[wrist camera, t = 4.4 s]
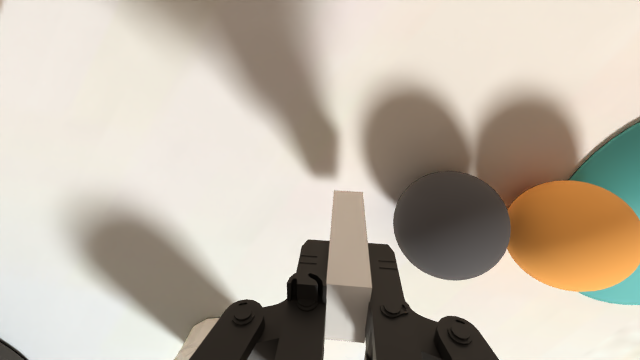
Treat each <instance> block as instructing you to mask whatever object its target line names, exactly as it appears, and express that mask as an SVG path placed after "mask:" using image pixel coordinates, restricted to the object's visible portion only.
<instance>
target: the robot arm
mask: <svg viewBox="0 0 640 360" xmlns="http://www.w3.org/2000/svg"><path fill="white" fill-rule="evenodd" d="M324 339H328V340H338V341H349V342H360V343H364V342H365V340H366V352H365V359H364V360H499V359H498V358H497V356H496V355H495V353H494V352H493V351H492V349H491V348H490V346H489V345H488V343H487V342H486V341H485V339H484V338H483V336H482V335H481V334H480V332H479V331H478V330H477V329H476V328H475V327H474V325H473V324H471V323H469V322H468V321H466V320H465V319H462V318H459V317H456V316H446V317H444V318H441V320H440V321H439V322H436V321H433V320H430V319H427V318H425V317H422V316H420V315H418V314H417V313H415V312H414V311H413V310H412V309H411V308H410V306H409V305H408V304H407V303H406V302H405V299H404V296H403V291H402V286H401V282H400V277H399V272H398V268H397V263H396V258H395V254H394V252H393V250H392V249H391V248H390V247H389V245H387V244H373V243H368V241H367V231H366V221H365V210H364V200H363V192H351V191H335V190H334V197H333V209H332V221H331V233H330V241H321V240H307V241H306V242H305V244H304V245H303V246H302V248H301V253H300V258H299V263H298V267H297V272H296V273H295V274H293V275H292V276H291V277H290V278H289V280H288V282H287V299H286V300H285V301H283V302H281V303H279V304H276V305H273V306H268V307H263V308H262V306H261V305H260V303H258V302H256V301H254V300H247V299H246V300H241V301H237V302H235V303H233V304H232V305H230V306H229V307H228V308H227V309H226V310H225V312H224V313H223V314H222V316H221V317H220V318H219V320H218V321H217V322H216V324H215V325H214V326H213V328H212V329H211V330H210V332H209V333H208V334H207V336H206V337H205V339H204V340H203V341H202V343H201V344H200V345H199V347H198V348H197V349H196V351H195V352H194V353H193V355H192V356H191V357H190V359H189V360H323V356H324ZM0 360H24V359H23V358H21V357H20V356H19V355H18V354H16V353H15V352H14V351H12V350H11V349H10V348H8V347H7V346H5V345H4V344H2V343H0Z"/></svg>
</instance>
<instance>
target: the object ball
mask: <svg viewBox="0 0 640 360" xmlns="http://www.w3.org/2000/svg"><path fill="white" fill-rule="evenodd" d="M508 214H509V218H510V224H511V233H510V240H509V244H508V247H507V249H508V251H509V253H510V255H511V256H512V258H513V259H514V261H515V262H516V263H517V264H518V265H519V266H520V267H521V268H522V269H523V270H524V271H525V272H526V273H527V274H529V275H530V276H532V277H533V278H535V279H536V280H538V281H540V282H542V283H544V284H547V285H549V286H552V287H555V288H559V289H563V290H568V291H577V292H586V291H597V290H602V289H606V288H609V287H611V286H614V285H616V284H618V283H620V282H622V281H623V280H625V279H626V278H627V277H629V276H630V275H631V274H632V273H633V272H634V271H635V270H636V268H637V267H638V266H639V264H640V220H639V218H638V216H637V215H636V214H635V212H634V211H633V210H632V208H631V207H630V206H629V205H628V204H627V203H626V202H624V201H623V200H622V199H621V198H619V197H618V196H617V195H615V194H613V193H612V192H610V191H608V190H606V189H604V188H602V187H599V186H596V185H593V184H590V183H586V182H580V181H572V180H564V181H552V182H547V183H543V184H540V185H537V186H535V187H532V188H530V189H529V190H527V191H525V192H524V193H522V194H521V195H520V196H519V197H517V198H516V199H515V200H514V202H513V203H512V204H511V205H510V207H509V209H508Z"/></svg>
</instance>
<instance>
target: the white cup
mask: <svg viewBox="0 0 640 360" xmlns="http://www.w3.org/2000/svg"><path fill="white" fill-rule="evenodd" d="M218 320H219V318H210V319H206V320H204V321H202V322H200V323H198V324H197V325H195V326H194V327H193V328H192V330H191V332H190V333H189V335H188V337H187V339H186V341H185V342H184V344H183V346H182V348H181V349H180V351H179V352H178V354H177V356H176V357H175V359H174V360H189V359H190V357H191V356H192V355H193V353H194V352H195V351H196V349H197V348H198V347H199V345H200V344H201V343H202V341H203V340H204V339H205V337H206V336H207V334H208V333H209V332H210V330H211V329H212V328H213V326H214V325H215V324H216V322H217V321H218Z"/></svg>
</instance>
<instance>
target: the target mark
mask: <svg viewBox="0 0 640 360" xmlns="http://www.w3.org/2000/svg"><path fill="white" fill-rule="evenodd" d="M570 180H572V181H580V182H586V183H590V184H593V185H596V186H599V187H602V188H604V189H606V190H608V191H610V192H612V193H613V194H615V195H617V196H618V197H619V198H621V199H622V200H623V201H624V202H626V203H627V204H628V205H629V206H630V207H631V208H632V210H633V211H634V212H635V214H636V215H637V216H638V218H639V220H640V122H639V123H637V124H635V125H633V126H631V127H630V128H628V129H627V130H625V131H624V132H622V133H621V134H619V135H618V136H616V137H615V138H613V139H612V140H610V141H609V142H608V143H606V144H605V145H604V146H603V147H601V148H600V149H599V150H598V151H596V152H595V153H594V154H593V155H592V156H591V157H590V158H589V159H588V160H587V161H586V162H585V163H584V164H583V165H582V166H581V167H580V168H579V169H578V170H577V171H576V172H575V174H574V175H573V176H572V177H571V178H570ZM579 293H581V294H583V295H585V296H588V297H590V298H593V299H596V300H600V301H604V302H608V303H615V304H623V305H640V264H639V266H638V267H637V268H636V270H635V271H634V272H633V273H632V274H631V275H630V276H629V277H627V278H626V279H625V280H623V281H622V282H620V283H618V284H616V285H614V286H611V287H609V288H606V289H602V290H597V291H586V292H579Z"/></svg>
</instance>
